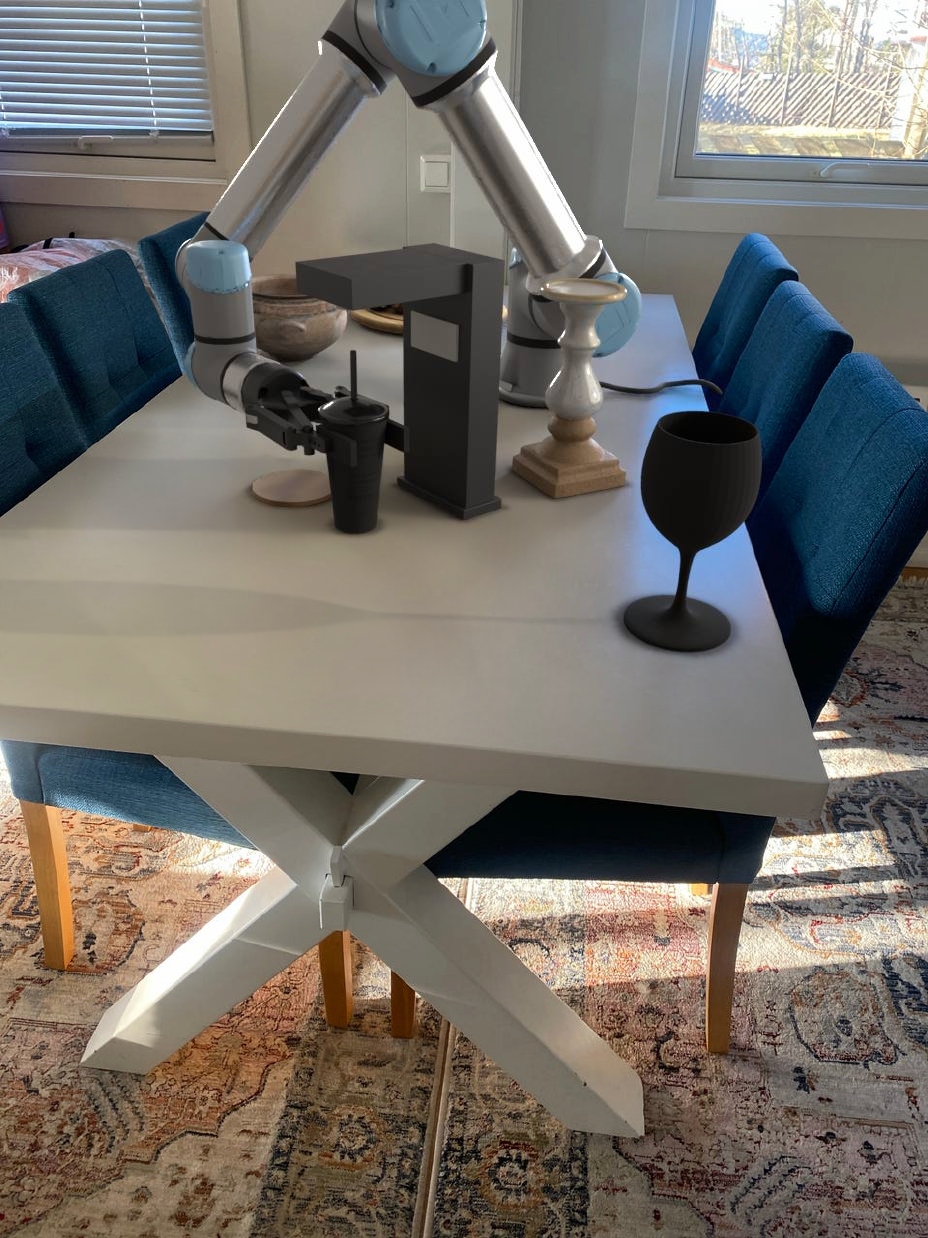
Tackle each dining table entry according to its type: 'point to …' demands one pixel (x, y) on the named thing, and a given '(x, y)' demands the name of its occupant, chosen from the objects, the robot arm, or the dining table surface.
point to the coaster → (293, 488)
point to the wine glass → (694, 516)
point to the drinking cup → (360, 483)
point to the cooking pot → (292, 319)
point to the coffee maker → (434, 359)
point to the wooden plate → (389, 317)
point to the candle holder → (574, 399)
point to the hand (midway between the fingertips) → (380, 446)
